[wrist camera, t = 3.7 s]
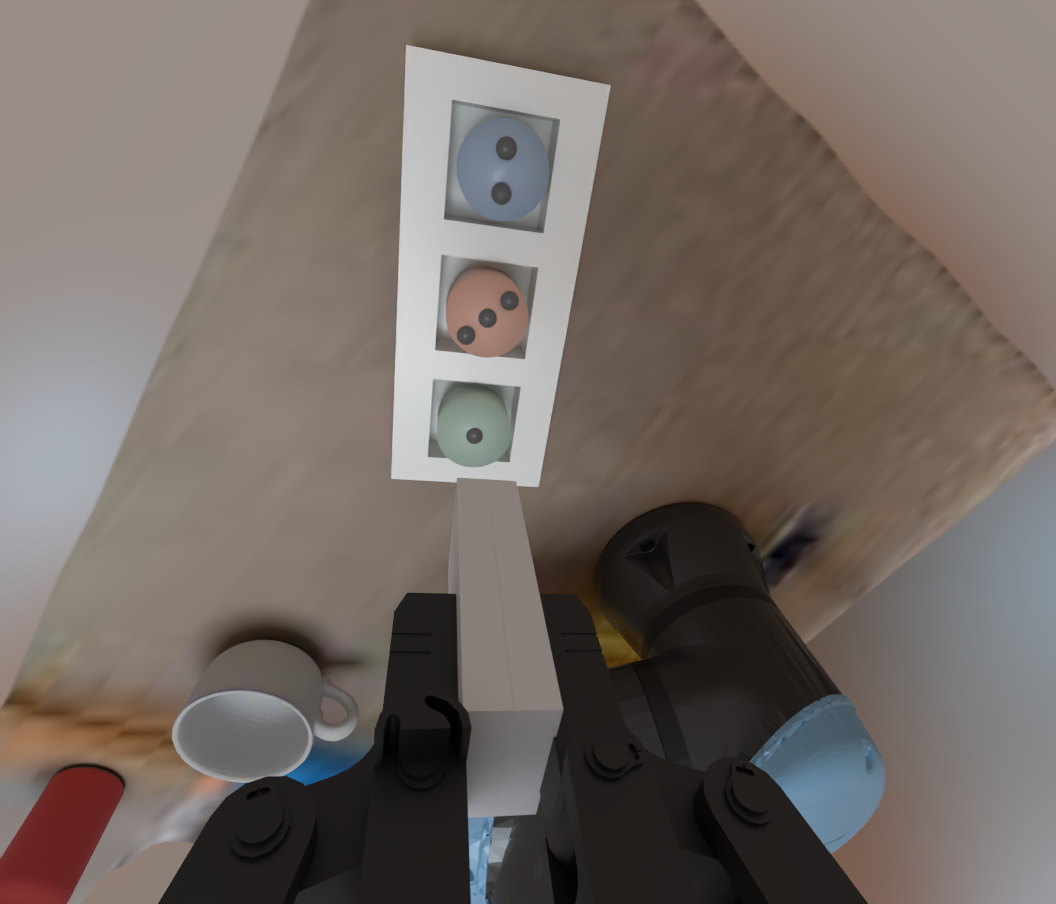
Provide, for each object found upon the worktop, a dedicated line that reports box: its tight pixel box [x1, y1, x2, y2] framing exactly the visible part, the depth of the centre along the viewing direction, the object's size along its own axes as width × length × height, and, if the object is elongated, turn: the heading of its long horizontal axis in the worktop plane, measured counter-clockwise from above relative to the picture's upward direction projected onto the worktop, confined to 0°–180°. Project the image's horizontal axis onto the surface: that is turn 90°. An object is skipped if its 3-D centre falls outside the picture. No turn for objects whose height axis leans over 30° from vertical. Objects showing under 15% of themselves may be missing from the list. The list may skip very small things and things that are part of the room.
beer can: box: [0, 766, 123, 904], centre depth 50 cm, size 7×7×12 cm
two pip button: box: [456, 117, 549, 221], centre depth 31 cm, size 5×5×3 cm
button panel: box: [391, 45, 611, 487], centre depth 36 cm, size 11×26×3 cm, turn 171°
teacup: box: [172, 640, 359, 783], centre depth 48 cm, size 14×11×8 cm
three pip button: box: [446, 266, 528, 358], centre depth 34 cm, size 5×5×3 cm
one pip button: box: [437, 384, 511, 467], centre depth 38 cm, size 5×5×3 cm
